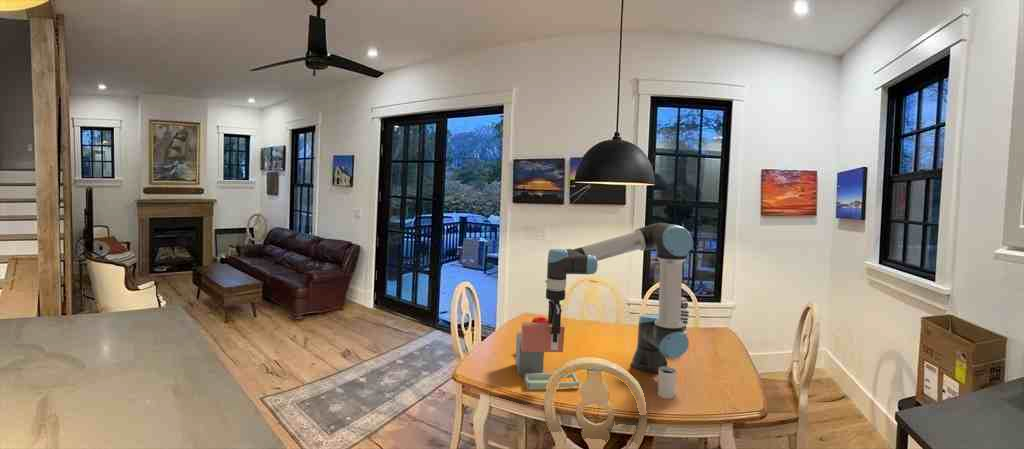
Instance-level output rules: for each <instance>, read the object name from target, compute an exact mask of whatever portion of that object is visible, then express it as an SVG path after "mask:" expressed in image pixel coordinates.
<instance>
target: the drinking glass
mask: <svg viewBox="0 0 1024 449" xmlns="http://www.w3.org/2000/svg"><path fill="white" fill-rule="evenodd" d="M657 374H658V377H657V394H658V396H659V398H663V399H668V400H669V399H671V400H672V399H673V398H674V396H675V387H676V381H677V380H676V379H677V370H676V369H675V368H673V367H670V366H668V367H660V368H659V373H657Z"/></svg>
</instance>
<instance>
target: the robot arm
mask: <svg viewBox="0 0 1024 449" xmlns="http://www.w3.org/2000/svg"><path fill="white" fill-rule="evenodd" d="M693 241H694V240H693V237H692V234H691V233H690V231H689V230H688V229H687V228H685V227H683V226H680V225H679V224H671V223H666V222H665V223H664V222H657V223H653V224H649V225H645V226H642V227H639V228H636V229H634V231H633V232H630V233H627V234H623V235H620V236H616V237H613V238H608V239H605V240H602V241H599V242H595V243H592V244H588V245H587V244H586V245H584V246H581V247H577V248H566V249H562V248H551V249H550V250H549V251H548V254H547V255H548V256H547V267H546V268H547V271H546V273H547V274H546V280H544V282H545V283H546V285H545V286H546V290H545V298H546V299H547V300H548V314H547V315H548V316H547V320H548V323H552V332H550V334H551V346H550V350H558V334H560V323H562V322H561V321H562V320H561V319H562V318H561V317H562V311H563V310H562V308H561V307H562V306H561V304H560V303H561V301H564V300H565V299H566V288H567V275H595V274H596V273H597V270H598V262H600V261H602V260H606V259H609V258H613V257H617V256H621V255H623V254H628V253H630V252H631V253H632V252H634V251H637V250H640V251H647V250H656V256H655V257H656V259H657V260H658V261H660V262H659V284H658V285H659V289H658V290H659V291H658V314H643V315H642V314H641V315H640V316H639V317H638V318H639V319H638V329H637V330H638V331H637V347H636V350H635V352H634V355H633V357H632V358H631V359H632V367H634V369H635V368H636V369H637V370H640V371H642V372H646V373H652V374H658V373H659V368H660V367H669V363H668V360H667V358H668V359H678V358H680V357H682V356H683V355H684V354H686V352H687V351H688V349H689V345H690V342H689V341H690V340H689V338H688V336H687V335H685V334H684V324H683V322H682V321H681V320H680V313H681V297H682V283H683V263H684V262H685V261H686V260H687V256H688V254H689V253H690V251H691V250H692V248H693V244H694V242H693Z"/></svg>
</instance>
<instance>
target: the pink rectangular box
mask: <svg viewBox="0 0 1024 449" xmlns="http://www.w3.org/2000/svg"><path fill="white" fill-rule="evenodd" d="M550 332H552V323H532V322H528V321H527V322H521V333H522V334H521V349H522V352H544V353H564V343H565V326H564V324H563V323H562V322H560V334H558V350H550V346H551V334H550Z"/></svg>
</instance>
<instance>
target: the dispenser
mask: <svg viewBox="0 0 1024 449" xmlns="http://www.w3.org/2000/svg"><path fill="white" fill-rule="evenodd" d="M521 334H522V332H516V342H515V343H516V344H515V367H516V368H515V369H516V371H517V375H518V377H524V375H525V373H544V358H545V352H522V349H521Z"/></svg>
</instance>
